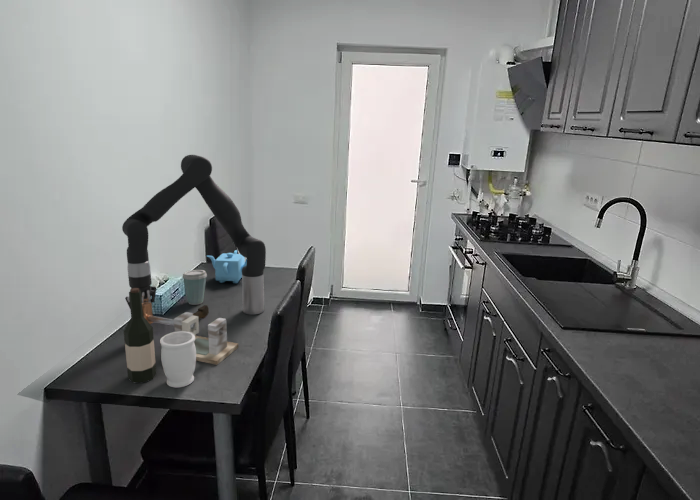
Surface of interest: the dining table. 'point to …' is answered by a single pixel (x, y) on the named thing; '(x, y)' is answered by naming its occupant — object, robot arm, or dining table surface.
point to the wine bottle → (139, 342)
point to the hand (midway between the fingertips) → (143, 316)
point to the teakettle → (228, 267)
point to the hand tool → (202, 312)
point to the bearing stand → (210, 340)
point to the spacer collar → (189, 322)
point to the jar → (178, 358)
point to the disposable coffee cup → (195, 286)
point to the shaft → (150, 318)
